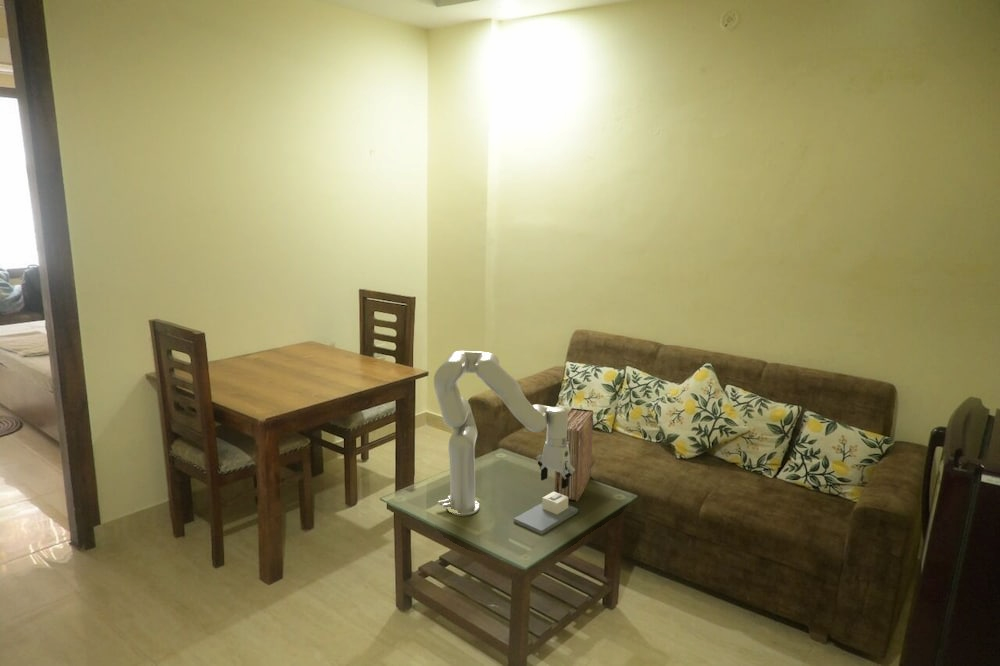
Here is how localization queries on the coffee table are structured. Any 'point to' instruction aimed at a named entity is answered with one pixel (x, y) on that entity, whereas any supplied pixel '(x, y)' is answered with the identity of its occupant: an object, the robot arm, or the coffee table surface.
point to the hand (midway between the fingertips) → (554, 483)
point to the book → (577, 453)
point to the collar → (555, 503)
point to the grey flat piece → (544, 517)
